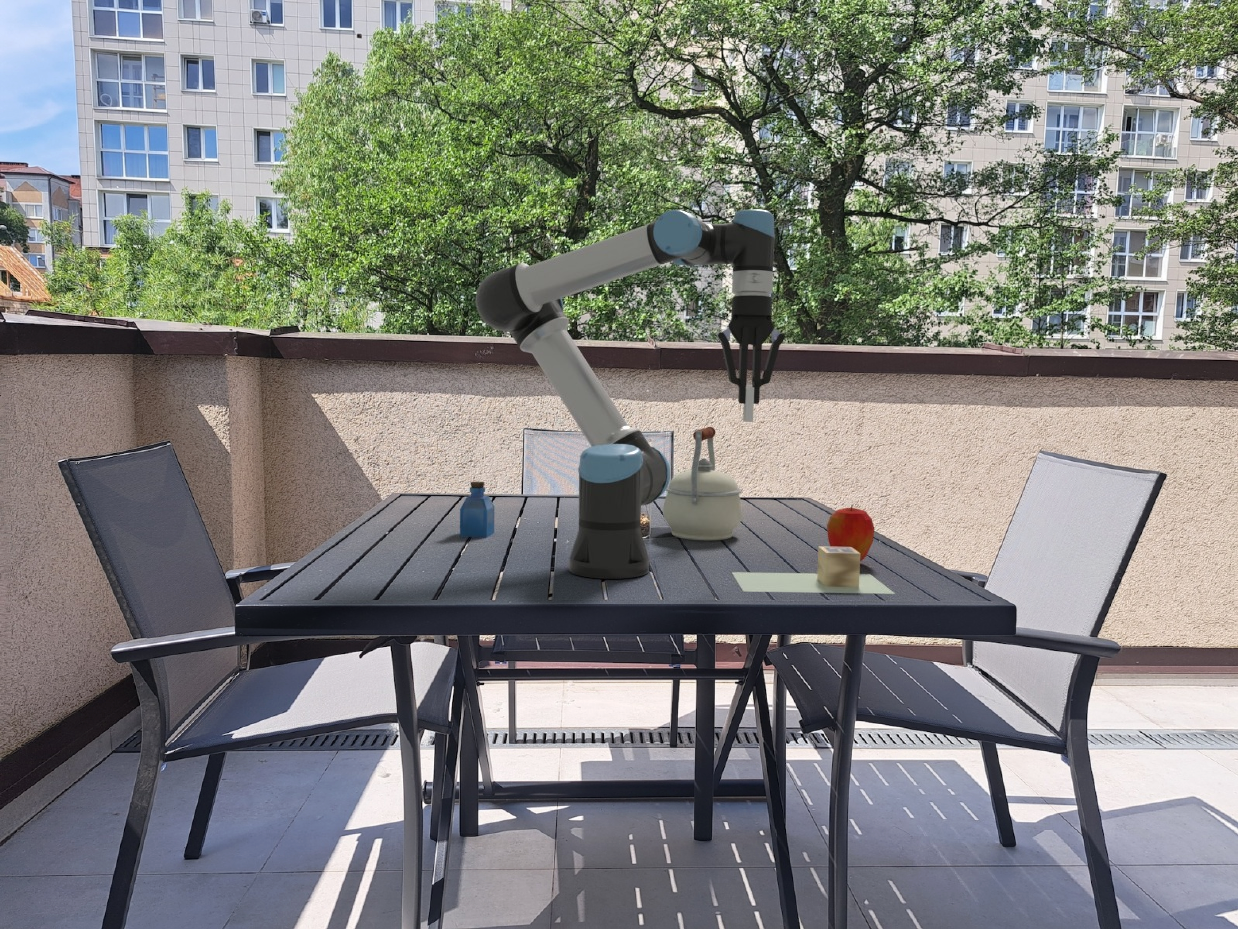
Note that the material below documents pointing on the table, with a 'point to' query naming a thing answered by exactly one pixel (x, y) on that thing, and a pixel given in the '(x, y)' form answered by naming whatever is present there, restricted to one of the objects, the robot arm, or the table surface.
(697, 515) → the kettle
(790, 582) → the felt mat
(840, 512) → the apple
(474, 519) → the blue corked bottle
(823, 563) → the wooden block
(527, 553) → the table surface
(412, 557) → the table surface
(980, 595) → the table surface
